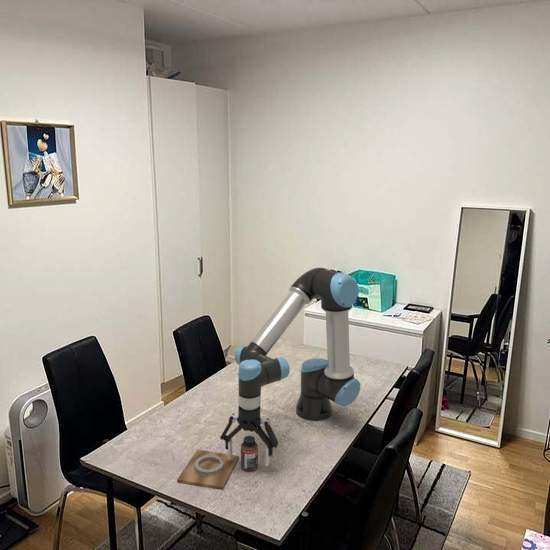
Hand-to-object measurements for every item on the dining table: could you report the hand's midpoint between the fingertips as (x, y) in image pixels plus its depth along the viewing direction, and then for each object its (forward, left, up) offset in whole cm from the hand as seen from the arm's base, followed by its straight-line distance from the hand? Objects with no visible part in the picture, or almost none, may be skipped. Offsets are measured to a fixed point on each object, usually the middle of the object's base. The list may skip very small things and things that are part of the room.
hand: (248, 460), depth 179 cm
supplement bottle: (0, 0, -3) cm, 3 cm away
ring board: (+13, +5, -3) cm, 14 cm away
